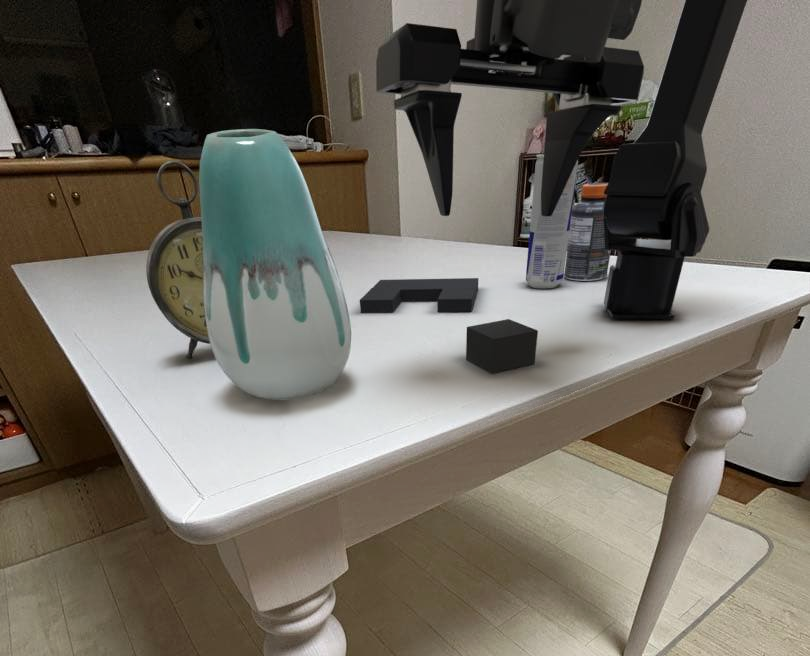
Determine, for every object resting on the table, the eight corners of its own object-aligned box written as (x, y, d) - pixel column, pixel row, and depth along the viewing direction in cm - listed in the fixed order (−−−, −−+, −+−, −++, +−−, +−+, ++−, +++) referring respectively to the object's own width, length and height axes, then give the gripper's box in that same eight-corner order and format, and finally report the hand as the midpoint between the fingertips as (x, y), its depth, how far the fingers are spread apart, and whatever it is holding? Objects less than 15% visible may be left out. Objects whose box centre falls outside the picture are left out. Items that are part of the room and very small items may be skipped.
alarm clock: (179, 367, 51) (107, 168, 41) (172, 353, 55) (104, 168, 45) (283, 342, 55) (240, 153, 45) (269, 330, 59) (227, 154, 48)
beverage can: (564, 281, 73) (581, 149, 64) (560, 290, 69) (578, 150, 60) (527, 281, 74) (539, 152, 65) (522, 289, 70) (533, 153, 61)
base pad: (478, 289, 72) (478, 277, 71) (471, 312, 62) (471, 298, 61) (381, 291, 74) (380, 279, 73) (360, 312, 65) (359, 299, 64)
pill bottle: (601, 272, 77) (617, 180, 70) (610, 281, 72) (627, 183, 65) (560, 274, 77) (572, 182, 70) (566, 282, 72) (579, 185, 66)
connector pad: (506, 350, 50) (508, 318, 48) (534, 364, 47) (538, 330, 45) (465, 359, 49) (466, 326, 47) (491, 373, 45) (493, 339, 44)
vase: (337, 414, 40) (296, 118, 29) (200, 411, 42) (114, 132, 31) (369, 364, 49) (347, 124, 38) (255, 363, 51) (204, 134, 40)
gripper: (441, -177, 23) (426, 222, 32) (745, -103, 29) (661, 222, 38) (372, -81, 32) (375, 213, 41) (616, -38, 37) (572, 214, 46)
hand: (497, 216), depth 41 cm, fingers open, 9 cm apart
